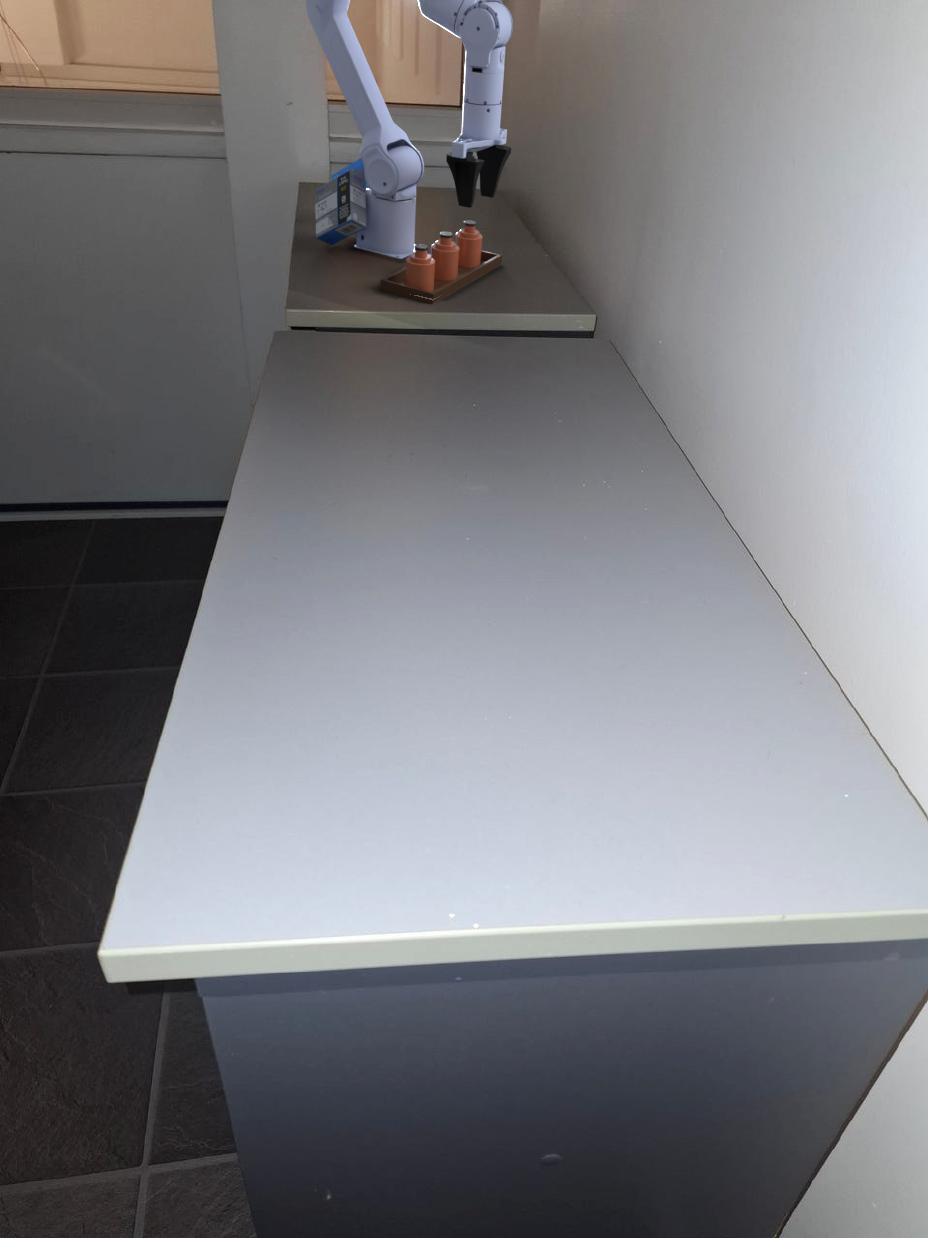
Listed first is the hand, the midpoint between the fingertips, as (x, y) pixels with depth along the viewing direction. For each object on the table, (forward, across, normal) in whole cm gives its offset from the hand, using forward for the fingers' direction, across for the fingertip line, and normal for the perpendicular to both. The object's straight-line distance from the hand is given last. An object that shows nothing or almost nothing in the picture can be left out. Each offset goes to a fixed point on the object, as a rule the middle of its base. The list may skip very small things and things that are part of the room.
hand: (476, 201), depth 135 cm
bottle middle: (+10, -8, +1) cm, 12 cm away
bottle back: (+10, 0, +1) cm, 10 cm away
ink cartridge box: (+7, -8, +21) cm, 23 cm away
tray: (+10, -8, +1) cm, 13 cm away
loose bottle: (+10, -16, +1) cm, 18 cm away
